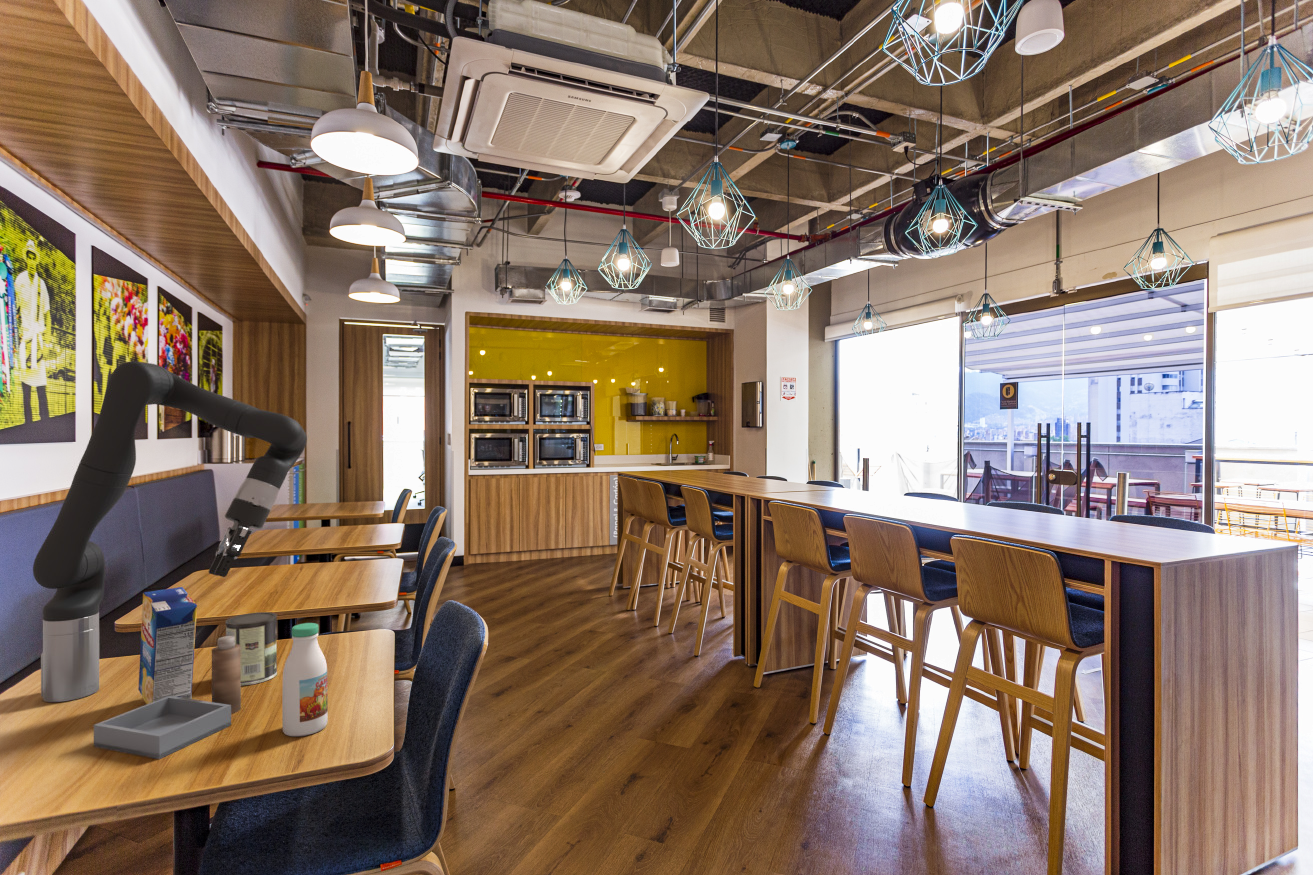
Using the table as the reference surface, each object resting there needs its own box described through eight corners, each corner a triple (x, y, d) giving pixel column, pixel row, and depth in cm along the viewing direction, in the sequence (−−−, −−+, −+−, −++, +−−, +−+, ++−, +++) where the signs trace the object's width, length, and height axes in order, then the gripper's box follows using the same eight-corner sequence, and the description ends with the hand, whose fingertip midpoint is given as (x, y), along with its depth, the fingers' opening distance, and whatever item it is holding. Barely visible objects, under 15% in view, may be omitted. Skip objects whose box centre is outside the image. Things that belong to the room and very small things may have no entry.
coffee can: (263, 666, 162) (262, 609, 162) (285, 675, 156) (285, 615, 156) (216, 680, 153) (216, 619, 153) (239, 689, 148) (239, 626, 148)
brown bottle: (205, 714, 135) (205, 640, 135) (227, 704, 139) (227, 633, 139) (224, 717, 133) (224, 642, 133) (246, 707, 138) (246, 635, 138)
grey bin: (93, 746, 121) (93, 724, 121) (169, 715, 134) (169, 695, 134) (159, 758, 116) (159, 736, 116) (231, 725, 130) (231, 704, 130)
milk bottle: (281, 740, 123) (281, 633, 123) (283, 724, 130) (283, 623, 130) (328, 732, 127) (327, 628, 126) (327, 717, 133) (327, 618, 133)
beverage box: (151, 713, 135) (156, 611, 132) (138, 689, 142) (143, 592, 139) (191, 703, 140) (197, 605, 137) (176, 680, 147) (182, 586, 144)
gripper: (229, 498, 148) (192, 568, 142) (240, 494, 137) (201, 570, 131) (264, 510, 152) (229, 579, 146) (278, 507, 141) (241, 582, 135)
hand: (216, 575), depth 139 cm, fingers open, 8 cm apart
